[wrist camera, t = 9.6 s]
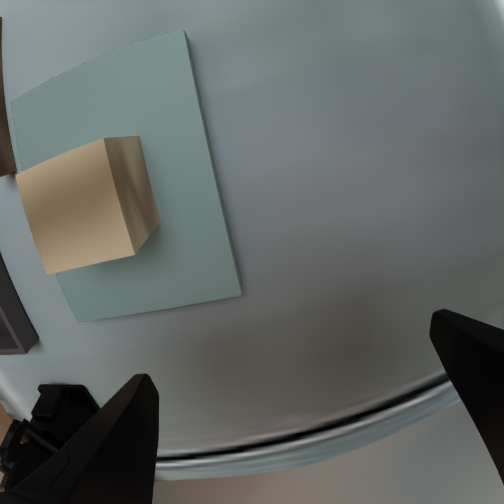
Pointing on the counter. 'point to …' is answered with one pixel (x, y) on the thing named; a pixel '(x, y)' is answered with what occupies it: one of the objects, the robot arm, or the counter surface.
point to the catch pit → (13, 319)
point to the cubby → (4, 130)
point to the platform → (158, 167)
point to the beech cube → (89, 204)
